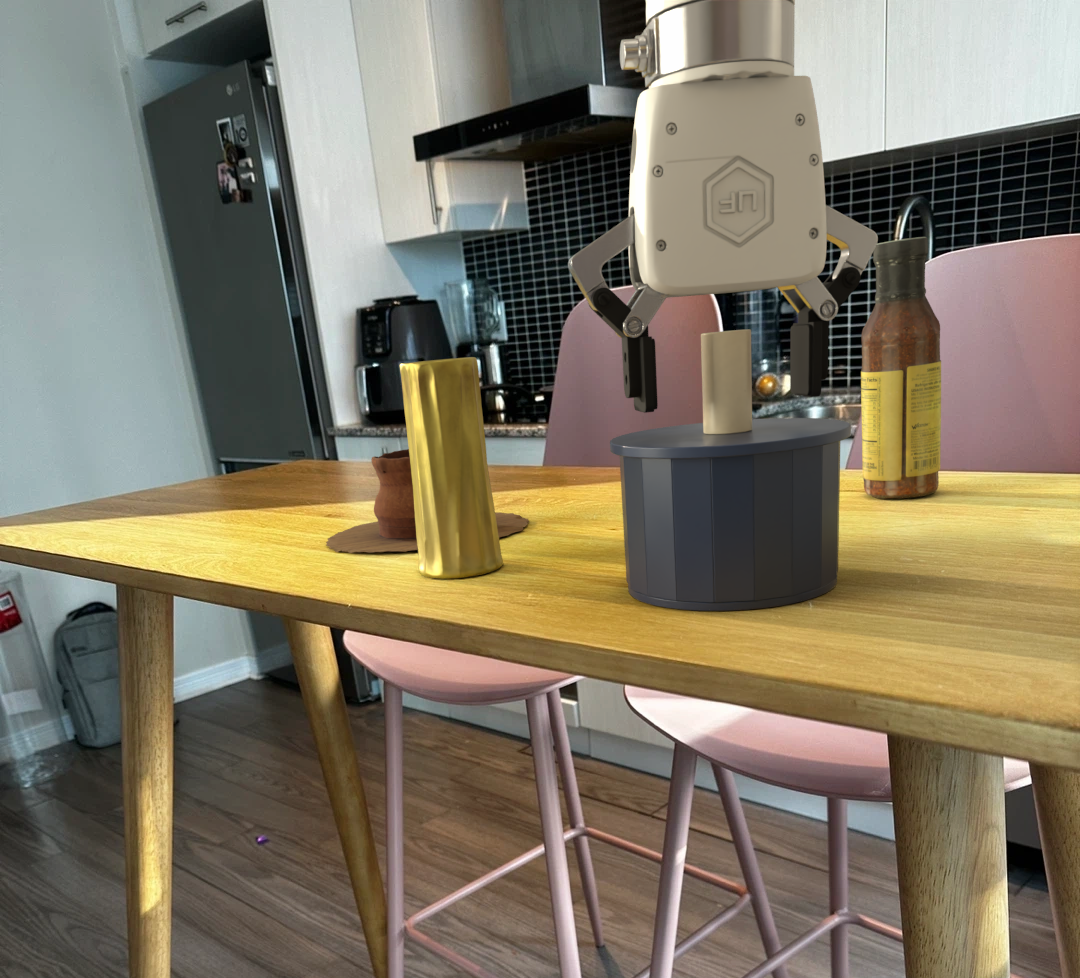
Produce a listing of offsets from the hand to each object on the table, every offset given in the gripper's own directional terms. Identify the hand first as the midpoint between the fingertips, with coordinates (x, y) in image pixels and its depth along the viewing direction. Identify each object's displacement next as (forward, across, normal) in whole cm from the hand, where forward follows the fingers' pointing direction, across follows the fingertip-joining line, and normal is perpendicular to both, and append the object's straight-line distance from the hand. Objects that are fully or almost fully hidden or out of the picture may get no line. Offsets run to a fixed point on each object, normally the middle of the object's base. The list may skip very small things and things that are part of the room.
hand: (726, 402), depth 59 cm
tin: (+11, 0, 0) cm, 11 cm away
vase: (+11, -16, +13) cm, 23 cm away
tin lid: (+2, 0, 0) cm, 2 cm away
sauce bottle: (+11, +22, +24) cm, 34 cm away
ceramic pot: (+11, -18, +30) cm, 37 cm away
